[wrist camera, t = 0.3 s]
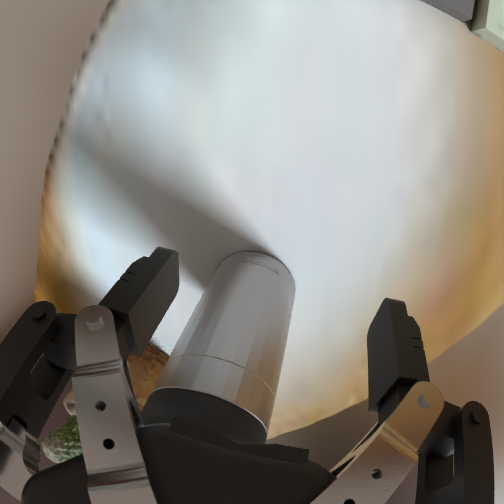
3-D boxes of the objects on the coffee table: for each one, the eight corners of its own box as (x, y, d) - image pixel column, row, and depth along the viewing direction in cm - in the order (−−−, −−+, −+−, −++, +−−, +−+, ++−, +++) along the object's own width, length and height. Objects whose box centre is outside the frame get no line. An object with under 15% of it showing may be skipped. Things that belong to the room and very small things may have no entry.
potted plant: (222, 373, 45) (167, 519, 24) (177, 404, 55) (131, 508, 34) (121, 307, 42) (28, 440, 21) (100, 354, 52) (37, 452, 31)
